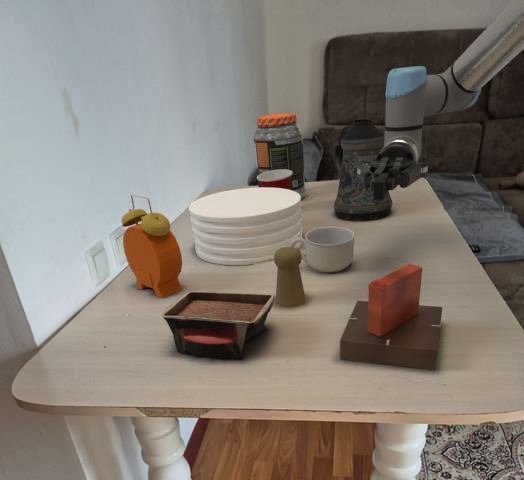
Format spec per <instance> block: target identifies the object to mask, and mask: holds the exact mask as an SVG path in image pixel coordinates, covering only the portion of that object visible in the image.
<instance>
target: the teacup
mask: <svg viewBox="0 0 524 480" xmlns="http://www.w3.org/2000/svg"><path fill="white" fill-rule="evenodd" d="M355 237H356V233H354V231H353V230H351V229H349V228H346V227H342V226H335V225H334V226H332V225H331V226H320V227H316V228H312V229H311V230H308V231H307V232H306V233H305V235H304V237H303V238H301V237H296V238H294V239H293V240H292V241H291V243H290V247H294V245H295V243H297V242H300V243H302V244H301V245H302V246H303V248H304V249H305V254H303V253H301V256H302V261H303V262H304V263H305V264H306V263H307V264H308V265H309V266H310V267H311V268H312V269H314V270H315V271H317V272H319V273H327V274H328V273H329V274H330V273H331V274H332V273H337V272H341V271H343V270H344V269H346V268H347V267H349V266H350V264H352V261H353V258H354V252H355Z"/></svg>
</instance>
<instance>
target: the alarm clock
mask: <svg viewBox="0 0 524 480" xmlns="http://www.w3.org/2000/svg"><path fill="white" fill-rule="evenodd" d="M133 197H136V198H141V199H147V203H148V207H149V211H150V212H149V213H147V212H146V210H144V209H142V208H135V204H134V203H135V202H134V198H133ZM130 198H131V203H132V208H130V209H128V212H126V213H125V214H124V215H123V216H122V217H121V225H122V227H123V228H126V227H128V228H126V229H125V230H124V233H123V238H122V245H123V251H124V255H125V258H126V262H127V263H128V266H129V267H130V270H131V272H133V275H134V276H135V277H136V288H137V289H140V290H142V291H143V290H144V289H147V288H151V289H152V290H153V292H154V293H155V296H156V297H158V298H160V299H165V298H166V297H169V296H171V295H173V294H176V293H178V292H180V291H182V290H183V288H182V285H181V282H180V280H179V279H178V278H179V276H180V274H181V272H182V269H183V268H182V267H183V258H182V257H183V256H182V252H181V248H180V245H179V243H178V241H177V239H176V237H175V235H174V234H173V232H172V231H171V223H170V221H169V219H168V217H166V216H165V215H164V214H162V213H159V212H155V211H153V209H152V206H151V202H150V198H149V197H145V196H140V195H134V194H132V195H130Z"/></svg>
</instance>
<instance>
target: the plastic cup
mask: <svg viewBox="0 0 524 480" xmlns="http://www.w3.org/2000/svg"><path fill="white" fill-rule="evenodd" d="M292 173H293V172H292V171H291V170H284V169H281V170H272V171H268V172H264V173H262V174H260V175H258V176H257V175H256V179H257V181H258V180H259V182H260V185H261V187H269V188H282V189H288V190H290V182H291V176H292Z"/></svg>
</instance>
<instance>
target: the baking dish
mask: <svg viewBox="0 0 524 480" xmlns="http://www.w3.org/2000/svg"><path fill="white" fill-rule="evenodd" d="M274 301H275V295H274V293H255V292H253V293H252V292H231V291H229V292H228V291H205V290H204V291H202V290H200V291H199V290H192V291H187V292H186V293H184V294H182V295H181V296H180V297H178V298H176V300H174V301H173V302H172V303H170V304H169V306H167V307H166V308H165V310H164V311H163V312H162V313H161V317H162V318H163V319H164V320H165V322H166V323H167V325H168V327H169V330H170V331H171V334H172V337H173V340H174V345H175V348H176V353H178V354H180V355H184V356H190V357H195V358H200V359H201V358H204V359H213V360H236V361H237V360H238V361H239V360H243V358H244V347H245V343H246V342H248V341H249V340H251V339H253V338H254V337H257V336H258V335H259V334H260V333H262V332H264V331H266V330H267V326H266V325H265V324H266V321H267V317H268V315H269V313H270V312H271V310H272V308H273V305H274Z"/></svg>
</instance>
